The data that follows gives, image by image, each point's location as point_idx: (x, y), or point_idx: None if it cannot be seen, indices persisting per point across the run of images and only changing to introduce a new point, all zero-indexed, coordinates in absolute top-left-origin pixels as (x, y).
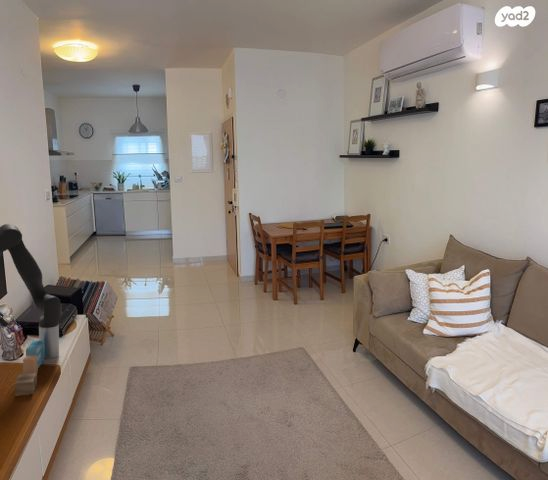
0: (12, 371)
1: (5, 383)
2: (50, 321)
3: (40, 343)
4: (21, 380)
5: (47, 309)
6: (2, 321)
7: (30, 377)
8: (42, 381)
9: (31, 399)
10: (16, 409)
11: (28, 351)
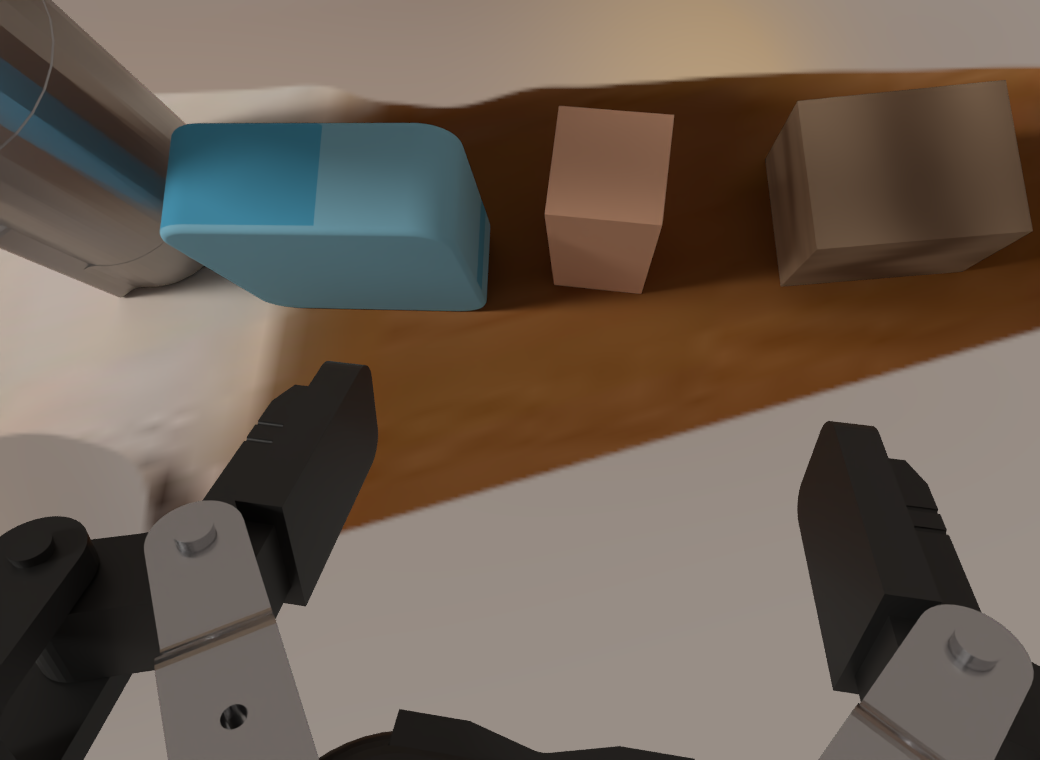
0: (448, 434)
1: (702, 419)
2: None
3: (263, 124)
4: (967, 189)
5: None
6: (314, 498)
7: (901, 127)
8: (696, 134)
9: (1034, 130)
10: None
11: (456, 216)
